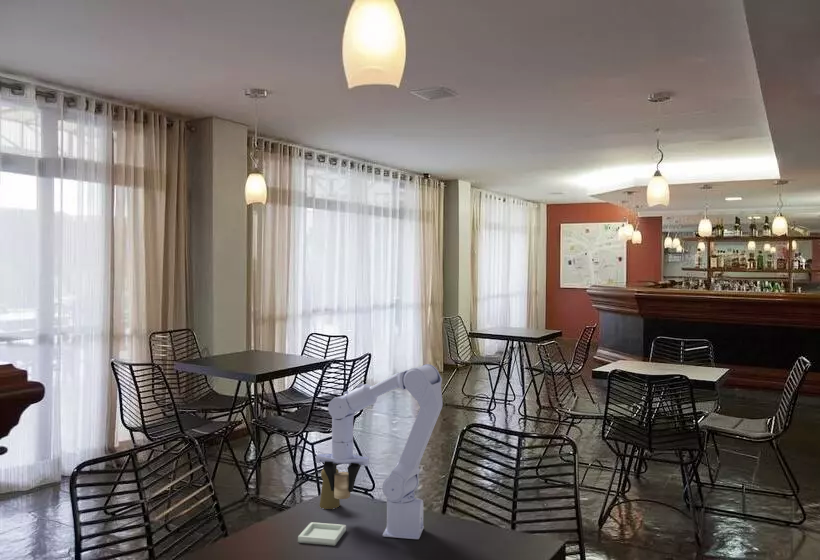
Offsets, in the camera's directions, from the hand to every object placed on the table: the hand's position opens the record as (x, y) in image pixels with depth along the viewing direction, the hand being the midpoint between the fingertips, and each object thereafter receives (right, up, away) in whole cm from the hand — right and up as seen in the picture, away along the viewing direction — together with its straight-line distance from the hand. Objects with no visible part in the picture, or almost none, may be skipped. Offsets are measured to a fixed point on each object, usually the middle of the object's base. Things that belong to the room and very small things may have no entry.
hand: (342, 490), depth 172 cm
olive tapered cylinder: (-5, -9, +12) cm, 15 cm away
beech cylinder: (0, -2, 0) cm, 2 cm away
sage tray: (-4, -8, -10) cm, 14 cm away
